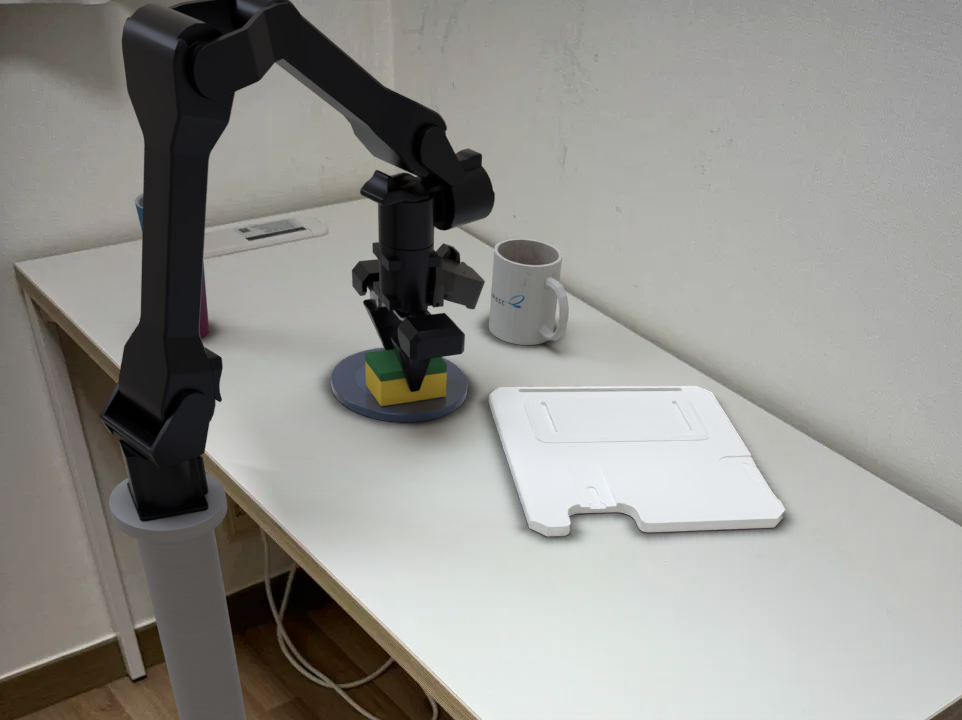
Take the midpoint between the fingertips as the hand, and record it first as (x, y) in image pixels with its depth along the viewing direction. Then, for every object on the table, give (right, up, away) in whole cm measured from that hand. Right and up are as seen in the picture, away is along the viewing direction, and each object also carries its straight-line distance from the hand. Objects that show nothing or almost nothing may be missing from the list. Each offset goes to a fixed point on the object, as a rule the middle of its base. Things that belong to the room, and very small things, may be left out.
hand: (406, 379), depth 113 cm
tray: (+26, -10, -2) cm, 27 cm away
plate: (-1, 0, +4) cm, 4 cm away
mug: (+14, +11, +16) cm, 24 cm away
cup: (-28, +9, +8) cm, 30 cm away
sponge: (0, -1, +1) cm, 1 cm away
